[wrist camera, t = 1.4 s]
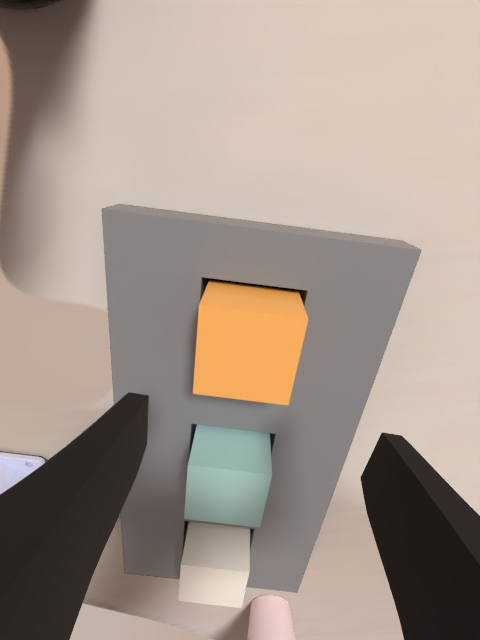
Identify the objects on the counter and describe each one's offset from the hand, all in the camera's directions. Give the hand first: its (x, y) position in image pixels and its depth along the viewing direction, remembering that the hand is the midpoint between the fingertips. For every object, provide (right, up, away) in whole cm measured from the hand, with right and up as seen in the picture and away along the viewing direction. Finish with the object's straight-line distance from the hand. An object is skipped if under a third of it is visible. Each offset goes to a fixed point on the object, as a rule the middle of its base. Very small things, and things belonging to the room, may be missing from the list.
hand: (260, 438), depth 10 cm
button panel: (-1, -4, +12) cm, 13 cm away
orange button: (0, +3, +7) cm, 7 cm away
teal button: (-1, -5, +10) cm, 12 cm away
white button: (-2, -13, +14) cm, 19 cm away
